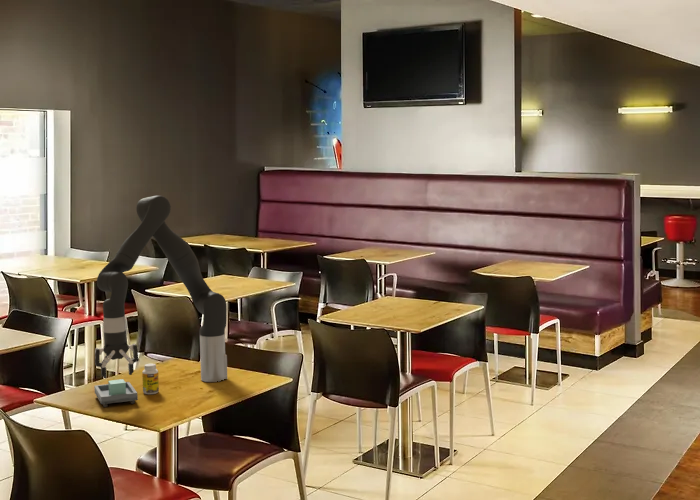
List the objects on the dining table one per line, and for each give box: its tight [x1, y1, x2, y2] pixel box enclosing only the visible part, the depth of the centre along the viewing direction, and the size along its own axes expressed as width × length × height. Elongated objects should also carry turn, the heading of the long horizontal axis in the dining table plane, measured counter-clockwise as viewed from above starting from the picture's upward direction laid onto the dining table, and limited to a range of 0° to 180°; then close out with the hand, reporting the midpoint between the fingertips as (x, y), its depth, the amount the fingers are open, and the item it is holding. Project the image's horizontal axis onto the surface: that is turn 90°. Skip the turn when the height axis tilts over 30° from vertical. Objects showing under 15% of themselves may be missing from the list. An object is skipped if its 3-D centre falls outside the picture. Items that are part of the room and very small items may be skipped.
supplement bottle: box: [142, 363, 160, 395], centre depth 314 cm, size 6×6×10 cm
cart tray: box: [93, 381, 139, 408], centre depth 305 cm, size 12×16×4 cm
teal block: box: [107, 378, 127, 395], centre depth 301 cm, size 5×5×5 cm
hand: (117, 376), depth 301 cm, fingers open, 8 cm apart
